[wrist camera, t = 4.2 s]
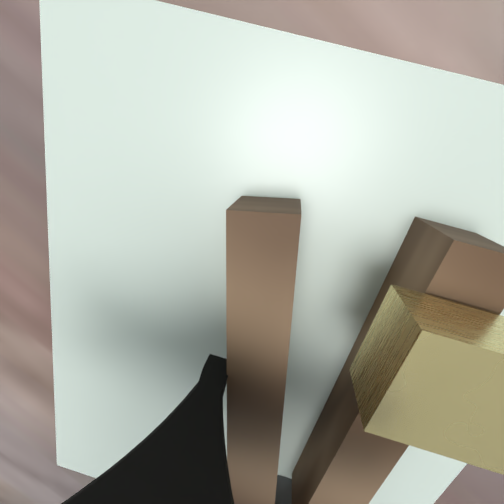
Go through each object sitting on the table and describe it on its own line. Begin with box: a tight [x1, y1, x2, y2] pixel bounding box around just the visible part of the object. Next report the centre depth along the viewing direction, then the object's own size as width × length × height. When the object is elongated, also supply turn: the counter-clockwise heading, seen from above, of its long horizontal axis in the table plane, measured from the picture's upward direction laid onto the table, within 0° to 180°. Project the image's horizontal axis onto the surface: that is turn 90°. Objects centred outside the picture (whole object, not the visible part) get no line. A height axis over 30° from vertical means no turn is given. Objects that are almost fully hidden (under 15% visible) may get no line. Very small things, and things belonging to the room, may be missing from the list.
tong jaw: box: [226, 196, 301, 504], centre depth 11 cm, size 14×2×2 cm, turn 178°
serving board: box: [39, 0, 504, 504], centre depth 13 cm, size 24×20×1 cm
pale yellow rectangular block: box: [349, 284, 504, 475], centre depth 7 cm, size 3×4×2 cm
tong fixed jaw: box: [275, 217, 504, 504], centre depth 11 cm, size 18×4×3 cm, turn 166°
